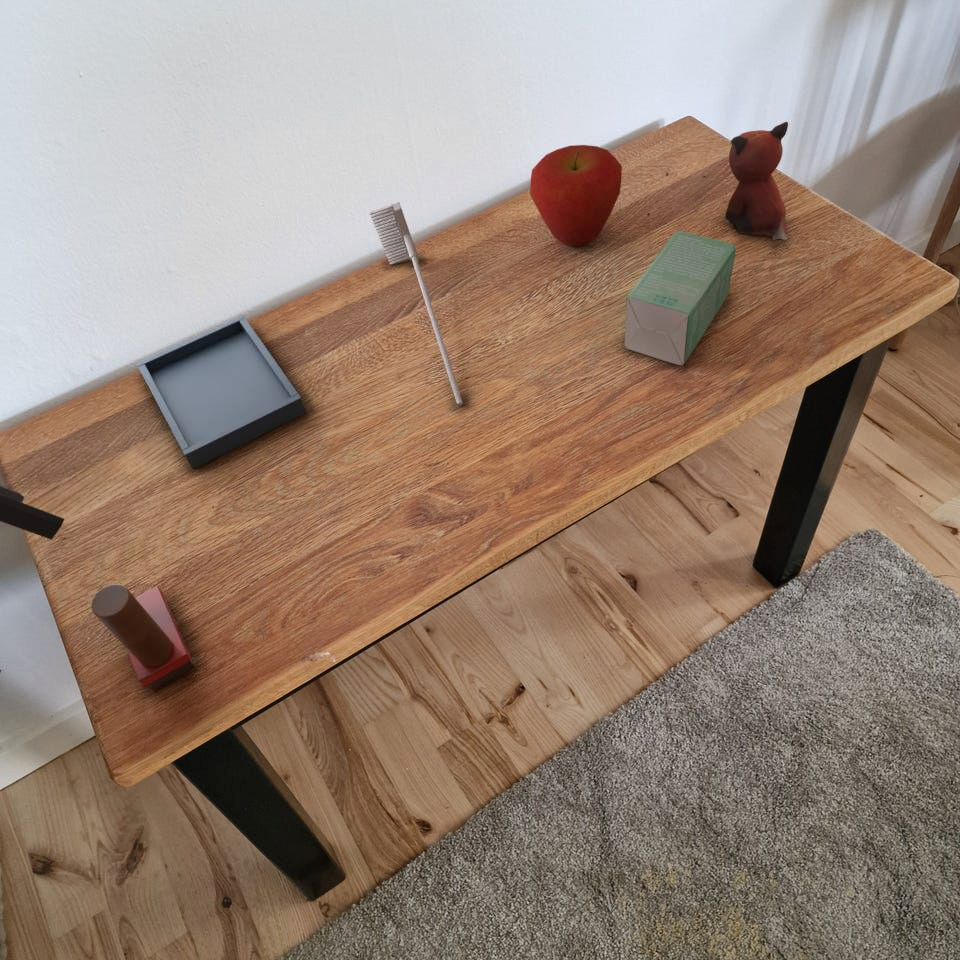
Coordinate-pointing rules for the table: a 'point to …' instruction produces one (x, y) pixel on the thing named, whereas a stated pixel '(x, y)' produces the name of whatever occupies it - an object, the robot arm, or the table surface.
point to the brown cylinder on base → (145, 632)
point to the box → (678, 297)
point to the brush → (406, 251)
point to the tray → (220, 390)
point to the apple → (576, 191)
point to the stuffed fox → (757, 184)
